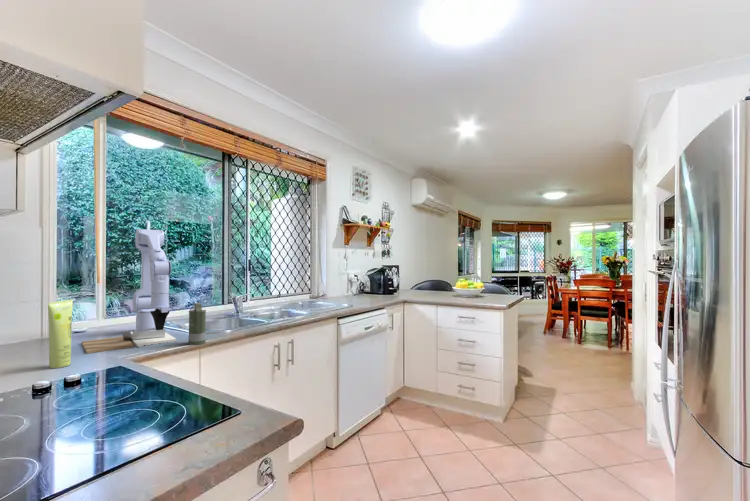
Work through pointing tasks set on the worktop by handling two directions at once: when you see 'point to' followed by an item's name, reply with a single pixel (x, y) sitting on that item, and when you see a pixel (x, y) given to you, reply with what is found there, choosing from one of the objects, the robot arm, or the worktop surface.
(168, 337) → the door board
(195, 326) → the grenade
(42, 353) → the worktop surface
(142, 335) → the swing bar
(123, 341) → the board
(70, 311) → the tube
